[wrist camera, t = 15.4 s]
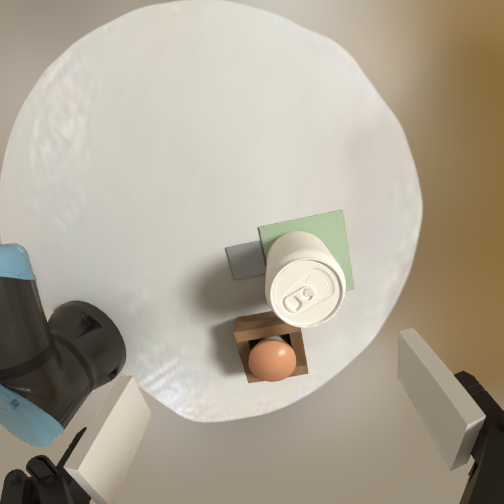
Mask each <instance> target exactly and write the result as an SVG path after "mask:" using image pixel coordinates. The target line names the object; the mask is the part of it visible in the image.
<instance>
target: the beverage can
mask: <svg viewBox="0 0 504 504" xmlns="http://www.w3.org/2000/svg"><path fill="white" fill-rule="evenodd" d="M345 291H346V281H345V276H344V273H343V271H342V269H341V267H340V265H339V264H338V263H337V261H336V260H335V258H334V257H333V256H332V254H331V253H330V252H329V250H328V249H327V248H326V246H325V245H324V244H323V242H322V241H321V240H320V239H319V238H317V237H316V236H314V235H313V234H310V233H307V232H302V231H295V232H290V233H287V234H285V235H283V236H281V237H280V238H278V239H277V240H276V241H275V242H274V243H273V245H272V246H271V248H270V250H269V252H268V256H267V265H266V280H265V295H266V299H267V302H268V305H269V307H270V308H271V310H272V311H273V312H274V314H275V315H276V316H278V317H279V318H280V319H281V320H283V321H284V322H286V323H288V324H290V325H292V326H295V327H300V328H310V327H315V326H318V325H321V324H323V323H325V322H327V321H328V320H330V319H331V318H332V317H333V316H334V315H335V314H336V313H337V311H338V310H339V308H340V306H341V304H342V302H343V299H344V296H345Z"/></svg>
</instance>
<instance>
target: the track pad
mask: <svg viewBox="0 0 504 504" xmlns="http://www.w3.org/2000/svg"><path fill="white" fill-rule="evenodd" d="M226 250H227V254H228V258H229V262H230V266H231V269H232V273H233V277H234V280H237V279H243V278H248V277H253V276H258V275H263V274H266V265H265V261H264V256H263V252H262V247H261V243H260V241H256V242H251V243H246V244H241V245H237V246H232V247H227V248H226Z"/></svg>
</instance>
